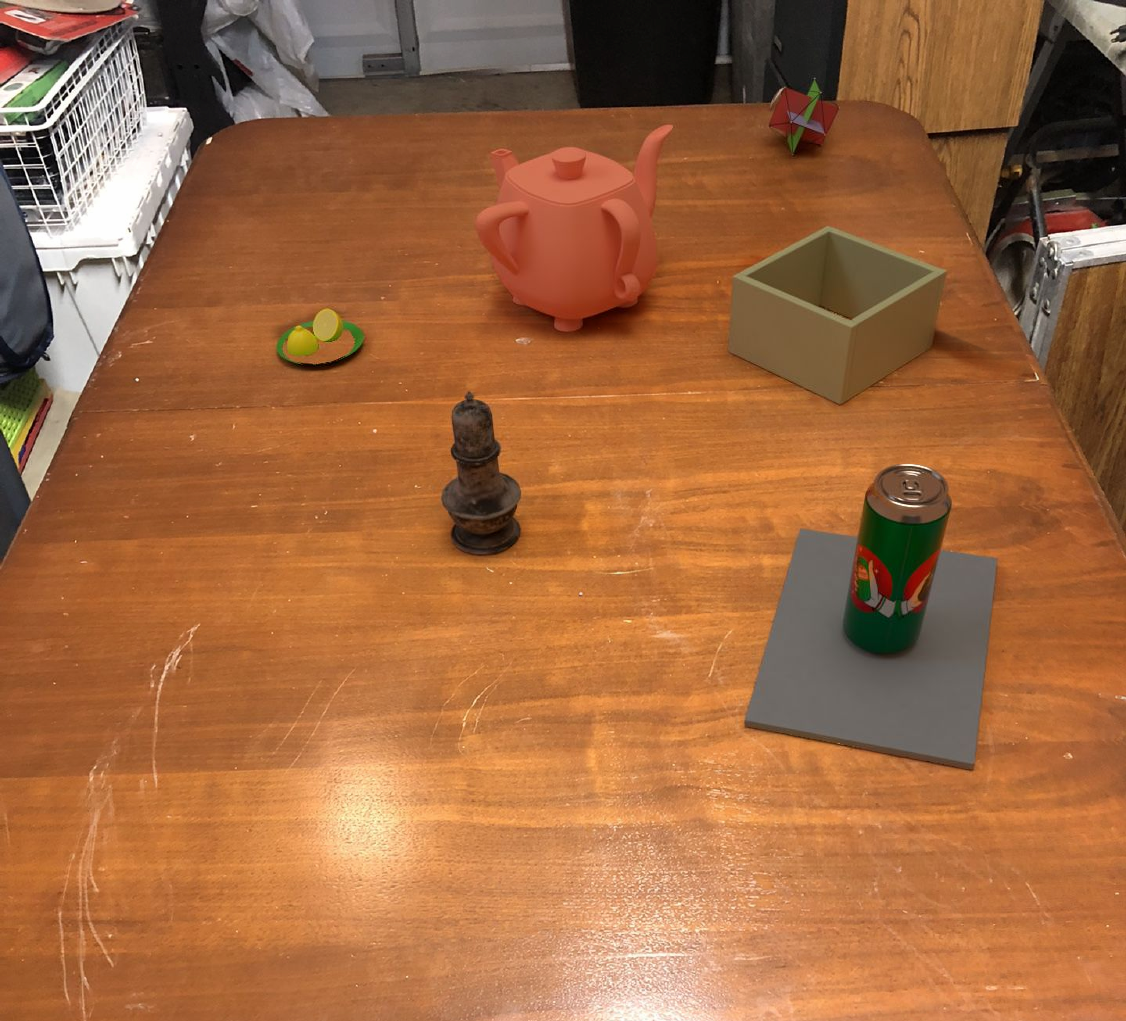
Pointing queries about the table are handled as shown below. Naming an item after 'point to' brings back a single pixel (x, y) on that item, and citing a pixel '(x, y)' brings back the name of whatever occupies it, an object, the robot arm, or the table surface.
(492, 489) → the salt shaker
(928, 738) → the mat
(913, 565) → the soda can
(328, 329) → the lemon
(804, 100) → the geometric puzzle
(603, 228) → the teapot
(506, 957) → the table surface
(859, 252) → the bin
